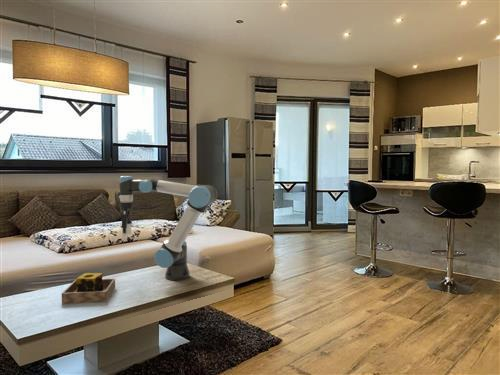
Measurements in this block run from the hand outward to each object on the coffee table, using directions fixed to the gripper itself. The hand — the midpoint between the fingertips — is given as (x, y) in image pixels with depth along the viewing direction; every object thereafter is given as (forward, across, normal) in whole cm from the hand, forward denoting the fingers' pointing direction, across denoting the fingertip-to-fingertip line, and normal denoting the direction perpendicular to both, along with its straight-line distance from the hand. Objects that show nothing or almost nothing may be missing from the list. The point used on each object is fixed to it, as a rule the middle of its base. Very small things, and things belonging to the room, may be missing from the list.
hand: (126, 236), depth 228 cm
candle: (+26, +26, -15) cm, 40 cm away
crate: (+27, +26, -15) cm, 40 cm away
